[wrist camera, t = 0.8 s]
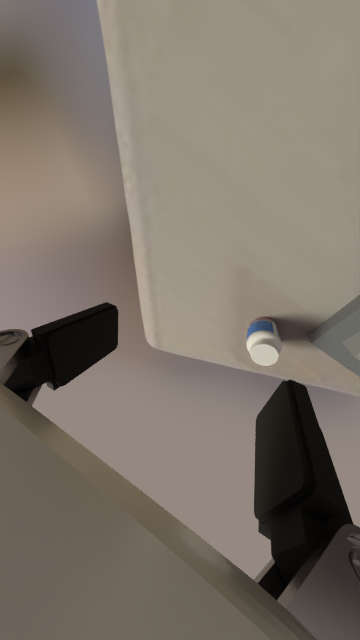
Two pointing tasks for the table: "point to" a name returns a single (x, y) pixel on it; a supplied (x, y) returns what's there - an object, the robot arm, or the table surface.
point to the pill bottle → (263, 341)
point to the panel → (341, 336)
